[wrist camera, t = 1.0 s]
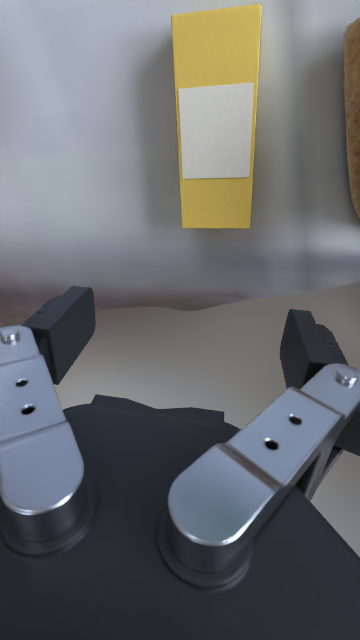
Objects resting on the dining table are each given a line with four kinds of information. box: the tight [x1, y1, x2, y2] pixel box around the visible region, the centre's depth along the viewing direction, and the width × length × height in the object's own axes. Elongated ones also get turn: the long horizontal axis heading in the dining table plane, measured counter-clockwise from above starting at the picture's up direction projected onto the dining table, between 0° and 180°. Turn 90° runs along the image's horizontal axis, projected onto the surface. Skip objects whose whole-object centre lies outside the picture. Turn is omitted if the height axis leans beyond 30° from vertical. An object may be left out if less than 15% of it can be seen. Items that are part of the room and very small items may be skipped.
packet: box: [171, 4, 262, 228], centre depth 28 cm, size 15×6×4 cm, turn 3°
